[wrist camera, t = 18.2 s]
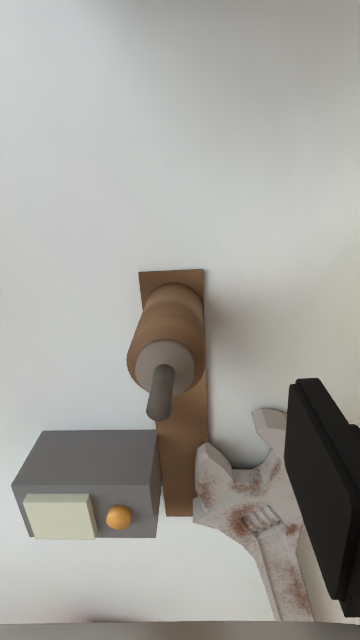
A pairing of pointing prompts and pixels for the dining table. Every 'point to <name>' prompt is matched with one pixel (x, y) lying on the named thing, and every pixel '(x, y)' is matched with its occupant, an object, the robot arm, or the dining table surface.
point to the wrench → (257, 514)
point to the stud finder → (91, 485)
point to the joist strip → (180, 413)
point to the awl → (168, 347)
